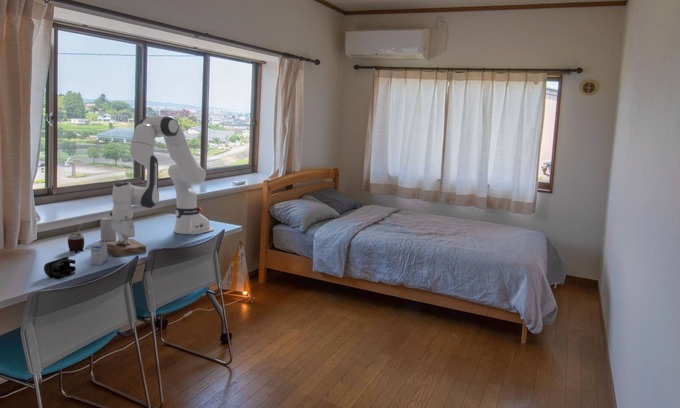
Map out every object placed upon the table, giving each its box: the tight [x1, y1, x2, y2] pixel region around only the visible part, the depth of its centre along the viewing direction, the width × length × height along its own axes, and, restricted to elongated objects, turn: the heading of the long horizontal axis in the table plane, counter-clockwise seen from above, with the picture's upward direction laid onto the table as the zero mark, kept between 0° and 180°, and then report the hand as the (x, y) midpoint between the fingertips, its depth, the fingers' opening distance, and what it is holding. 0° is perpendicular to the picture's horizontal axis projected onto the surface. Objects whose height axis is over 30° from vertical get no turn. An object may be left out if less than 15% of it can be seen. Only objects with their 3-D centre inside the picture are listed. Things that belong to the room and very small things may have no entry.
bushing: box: [117, 233, 127, 247], centre depth 259 cm, size 4×4×8 cm
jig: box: [107, 238, 147, 258], centre depth 260 cm, size 16×16×3 cm
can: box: [99, 216, 118, 242], centre depth 274 cm, size 8×8×12 cm
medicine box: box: [90, 241, 108, 266], centre depth 239 cm, size 8×4×9 cm, turn 5°
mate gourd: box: [67, 222, 86, 254], centre depth 253 cm, size 8×8×15 cm
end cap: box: [43, 256, 76, 280], centre depth 220 cm, size 10×7×7 cm
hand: (123, 242), depth 260 cm, fingers closed on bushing, 4 cm apart
